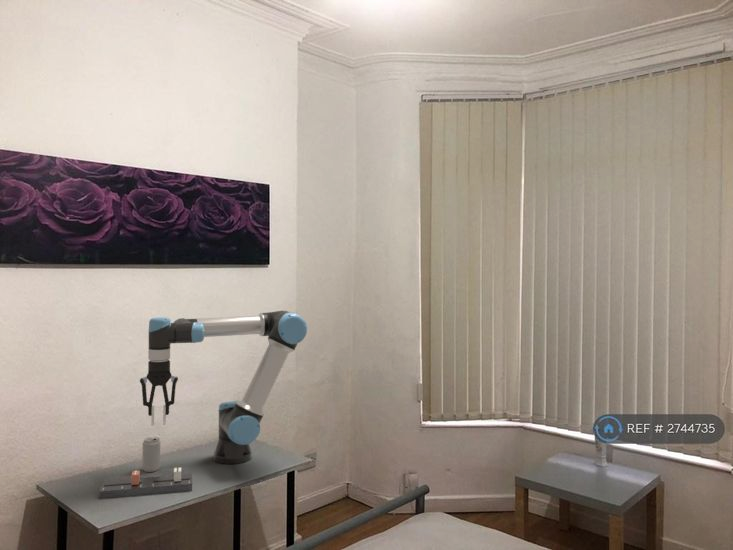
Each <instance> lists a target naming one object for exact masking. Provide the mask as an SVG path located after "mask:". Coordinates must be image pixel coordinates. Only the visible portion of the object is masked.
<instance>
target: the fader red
mask: <svg viewBox="0 0 733 550" xmlns="http://www.w3.org/2000/svg"><path fill="white" fill-rule="evenodd" d="M140 473H141V471H140V470H132V471H131V478H130V479H131V485H139V481H140V478H141V477H140V476H141V474H140Z"/></svg>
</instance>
